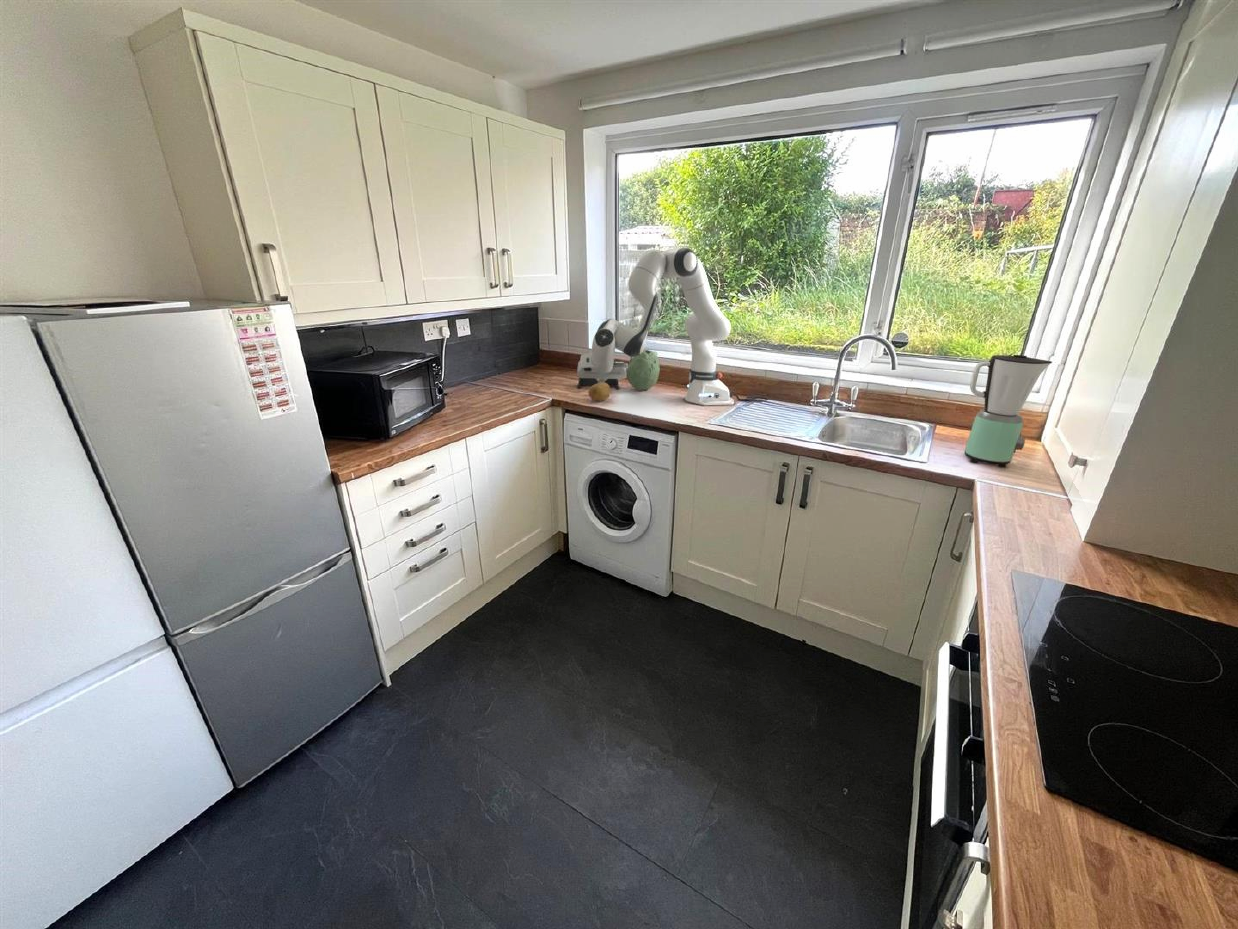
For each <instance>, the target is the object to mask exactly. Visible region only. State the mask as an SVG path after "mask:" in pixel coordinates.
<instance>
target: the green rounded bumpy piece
mask: <svg viewBox="0 0 1238 929" xmlns="http://www.w3.org/2000/svg"><path fill="white" fill-rule="evenodd" d="M658 354H659V353H658V352H657V351H655V350H654V351H653V350H649V349H647V348H646V347H645V348H644V350H643V352H642V353H641V354H640V355H639V356H635V357H630V359H629V363H628V369H627V370H626V378H627V381H628V383H629V384H630V386H631V387H632V388H633V389H635V390H638V391H640V392H641V391H648V390H650V389H651V388H653V387H654V386H655V385H656V383H657V381H658V380H659V376H660V371H661V368H660V359H659V357H658Z"/></svg>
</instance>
